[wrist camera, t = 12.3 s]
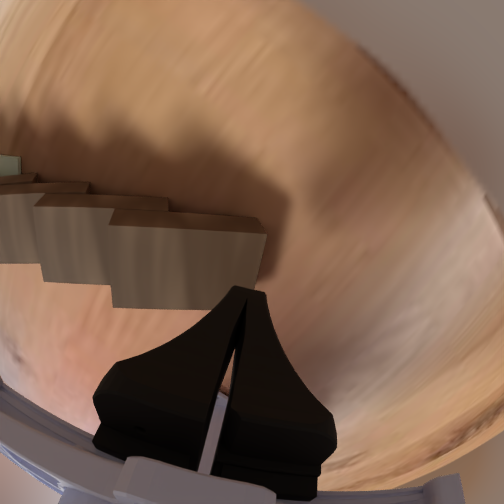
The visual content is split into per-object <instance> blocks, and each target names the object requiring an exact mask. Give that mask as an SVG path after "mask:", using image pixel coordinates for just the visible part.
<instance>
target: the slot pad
mask: <svg viewBox="0 0 504 504" xmlns="http://www.w3.org/2000/svg"><path fill="white" fill-rule="evenodd" d="M19 174H21V157H17V156H7V155H0V177H1V176H9V175H19Z"/></svg>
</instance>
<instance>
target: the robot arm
mask: <svg viewBox="0 0 504 504" xmlns="http://www.w3.org/2000/svg"><path fill="white" fill-rule="evenodd" d="M234 349H235V354H234V361H233V369H232V376H231V384H230V391H229V397H227V396H226V395H224V394H223V393H221V392H219V390H220V387H221V384H222V381H223V379H224V376H225V373H226V371H227V368H228V365H229V363H230V360H231V357H232V355H233V352H234ZM93 403H94V406H95V408H96V411H97V414H98V416H99V419H100V421H101V424H100V426H99V428H98V430H97V432H96V434H95V435H92V434H90V433H87V432H85V431H83V430H81V429H79V428H77V427H75V426H73V425H71V424H70V423H68V422H66V421H64V420H62V419H60V418H58V417H57V416H55V415H53V414H51V413H50V412H48V411H46V410H44V409H43V408H41V407H39V406H38V405H36V404H35V403H33V402H31V401H30V400H28V399H27V398H25V397H24V396H22V395H20V394H19V393H17V392H16V391H15V390H13V389H12V388H10V387H9V386H7V385H6V384H5V383H3V380H2V378H1V376H0V452H1V453H2V454H3V455H5V456H6V457H7V458H8V459H10V460H11V461H12V462H14V463H15V464H16V465H17V466H19V467H20V468H21V469H23V470H24V471H26V472H27V473H28V474H30V475H31V476H33V477H34V478H36V479H37V480H39V481H40V482H42V483H43V484H45V485H46V486H48V487H49V488H51V489H53V490H54V491H56V492H58V493H59V494H61V495H62V496H61V498H60V501H59V503H58V504H465V499H464V495H463V489H462V484H461V479H460V474H459V473H456V474H450V475H444V476H439V477H436V478H434V479H432V480H430V481H428V482H427V483H425V484H424V485H423V486H418V487H410V488H401V489H390V490H376V491H317V480H318V477H319V476H320V474H321V464H322V463H323V462H324V461H325V460H326V459H327V458H328V457H329V456H330V455H332V454H333V453H334V451H335V450H336V448H337V433H336V428H335V423H334V418H333V415H332V414H331V413H330V412H329V411H328V410H327V409H326V408H325V407H324V406H323V405H322V404H321V403H320V402H319V401H318V400H317V399H316V398H315V397H314V395H313V394H312V393H311V392H310V391H309V390H308V388H307V387H306V386H305V384H304V383H303V382H302V380H301V379H300V377H299V376H298V375H297V373H296V372H295V370H294V368H293V367H292V365H291V363H290V362H289V360H288V358H287V356H286V354H285V353H284V350H283V348H282V346H281V344H280V342H279V339H278V337H277V334H276V332H275V329H274V326H273V323H272V320H271V317H270V313H269V309H268V304H267V297H266V294H265V292H261V291H257V290H253V289H249V288H245V287H241V286H237V285H234V286H232V287H231V289H230V290H229V291H228V293H227V294H226V295H225V297H224V298H223V299H222V300H221V301H220V302H219V303H218V304H217V305H216V306H215V307H214V308H213V309H212V310H211V311H210V312H209V313H208V314H207V315H206V316H205V317H203V318H202V319H201V320H200V321H199V322H197V323H196V324H195V325H194V326H192V327H191V328H190V329H188V330H187V331H185V332H184V333H182V334H181V335H179V336H177V337H176V338H174V339H172V340H171V341H169V342H167V343H165V344H163V345H161V346H159V347H157V348H155V349H152V350H150V351H148V352H146V353H143V354H141V355H138V356H135V357H132V358H129V359H125V360H122V361H118V362H116V363H115V364H114V365H113V367H112V368H111V369H110V370H109V371H108V372H107V374H106V375H105V376H104V378H103V379H102V381H101V382H100V384H99V386H98V388H97V389H96V391H95V393H94V395H93Z"/></svg>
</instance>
